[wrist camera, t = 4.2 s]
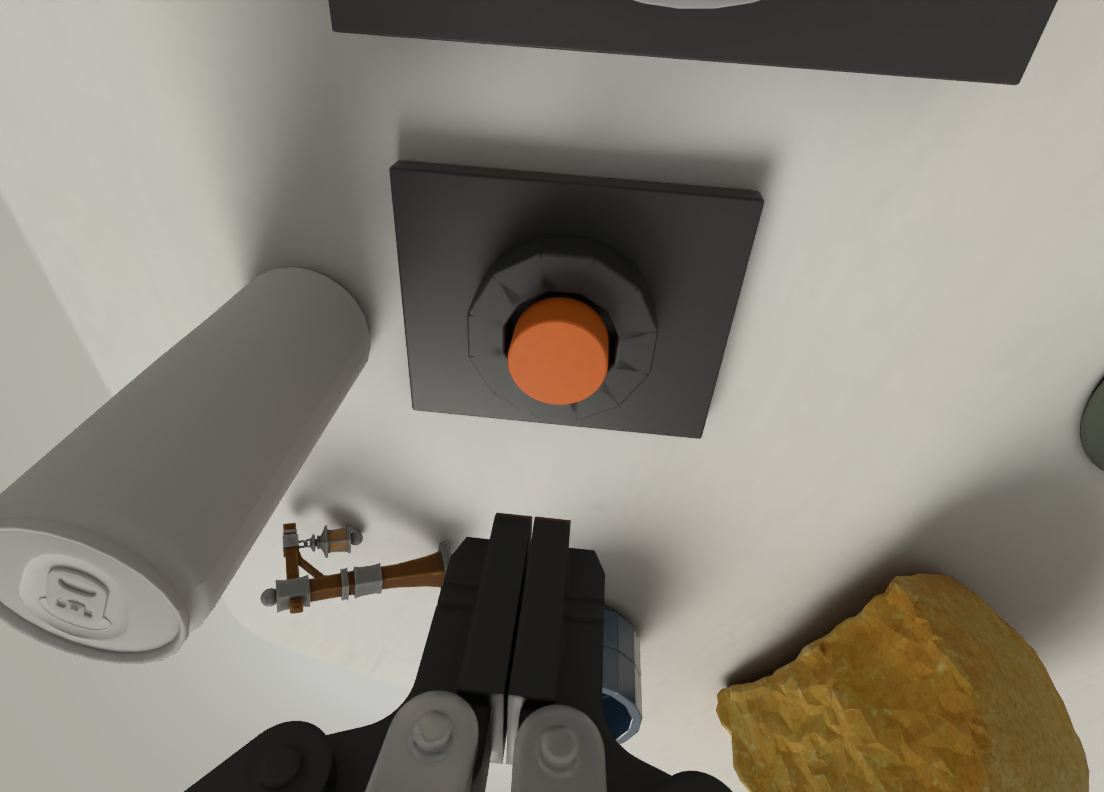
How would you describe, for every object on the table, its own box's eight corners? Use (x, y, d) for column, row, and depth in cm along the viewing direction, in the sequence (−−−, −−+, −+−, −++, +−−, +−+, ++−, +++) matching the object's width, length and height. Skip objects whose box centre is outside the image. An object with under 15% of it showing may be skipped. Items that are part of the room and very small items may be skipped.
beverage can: (233, 338, 23) (-53, 617, 13) (264, 233, 20) (-65, 483, 10) (353, 395, 24) (172, 691, 14) (396, 303, 21) (212, 587, 12)
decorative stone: (1149, 730, 28) (1329, 1009, 16) (886, 854, 34) (862, 1130, 22) (926, 512, 33) (925, 590, 20) (728, 654, 39) (631, 784, 26)
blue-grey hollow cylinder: (515, 658, 34) (504, 741, 30) (519, 587, 30) (505, 673, 26) (629, 671, 34) (631, 756, 30) (646, 601, 30) (651, 689, 26)
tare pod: (418, 397, 24) (399, 437, 22) (397, 159, 18) (369, 182, 16) (698, 424, 23) (706, 469, 21) (759, 190, 18) (777, 218, 16)
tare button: (513, 373, 20) (506, 400, 19) (515, 291, 18) (507, 315, 17) (603, 382, 20) (602, 410, 19) (613, 300, 18) (613, 325, 17)
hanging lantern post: (261, 516, 27) (258, 604, 24) (438, 500, 30) (456, 576, 27) (263, 541, 28) (260, 629, 25) (434, 523, 31) (451, 599, 28)
